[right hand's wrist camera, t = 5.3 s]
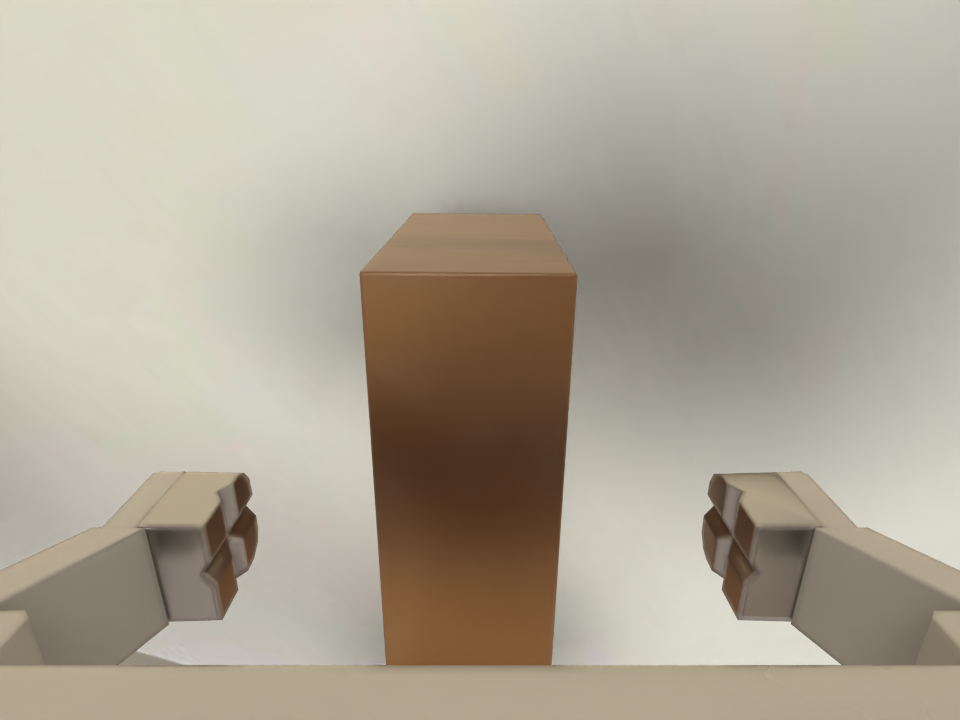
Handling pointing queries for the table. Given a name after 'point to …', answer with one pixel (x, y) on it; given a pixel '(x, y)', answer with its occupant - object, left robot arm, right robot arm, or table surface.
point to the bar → (469, 434)
